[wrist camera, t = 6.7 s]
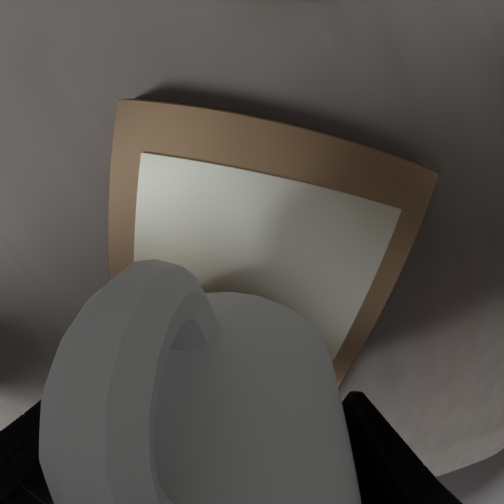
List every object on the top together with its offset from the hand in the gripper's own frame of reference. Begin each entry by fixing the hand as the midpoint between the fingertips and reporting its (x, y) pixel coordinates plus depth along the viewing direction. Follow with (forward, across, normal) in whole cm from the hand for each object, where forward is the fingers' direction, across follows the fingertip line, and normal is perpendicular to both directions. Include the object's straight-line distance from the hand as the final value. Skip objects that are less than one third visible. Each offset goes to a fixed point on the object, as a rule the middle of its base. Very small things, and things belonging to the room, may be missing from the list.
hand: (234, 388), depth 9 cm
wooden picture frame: (+4, 0, 0) cm, 4 cm away
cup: (+2, +1, 0) cm, 2 cm away
